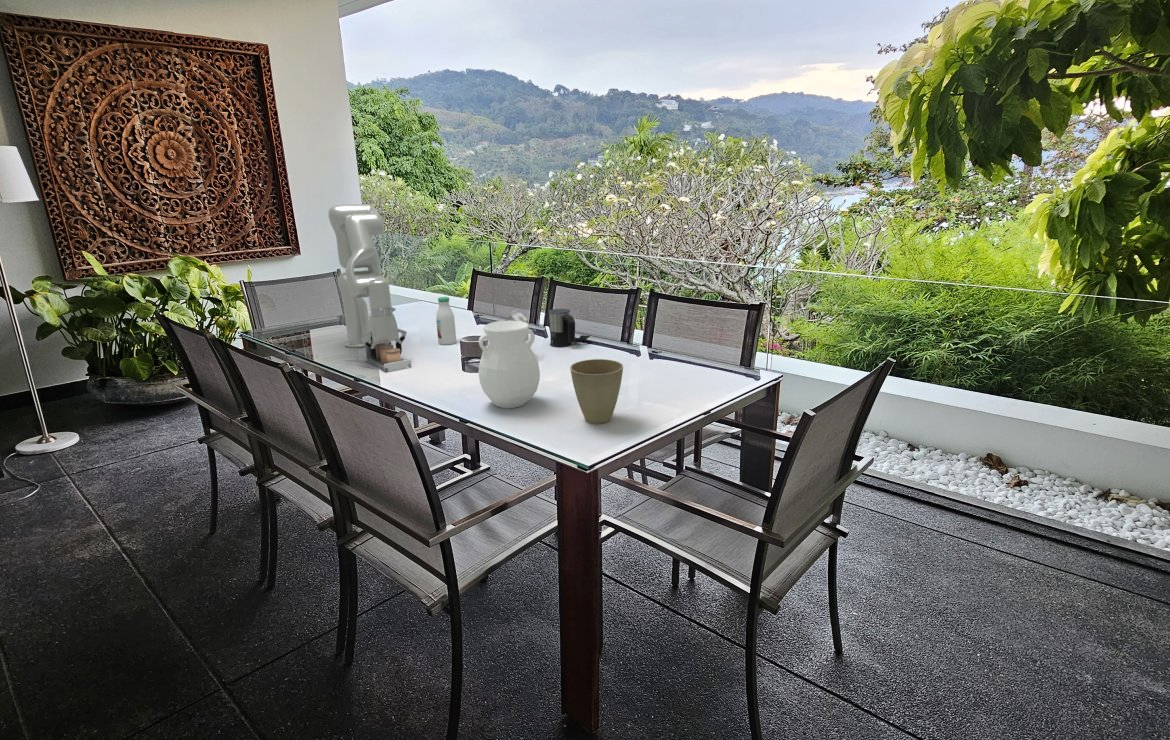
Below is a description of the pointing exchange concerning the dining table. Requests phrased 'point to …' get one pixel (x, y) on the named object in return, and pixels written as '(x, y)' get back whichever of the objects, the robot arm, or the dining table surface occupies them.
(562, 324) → the milk frother
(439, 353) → the dining table surface
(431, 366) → the dining table surface
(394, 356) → the jar
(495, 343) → the white vase
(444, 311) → the milk bottle
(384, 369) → the grey holder stand
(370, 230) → the robot arm
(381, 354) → the jar
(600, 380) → the plant pot
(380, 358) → the pusher plate
